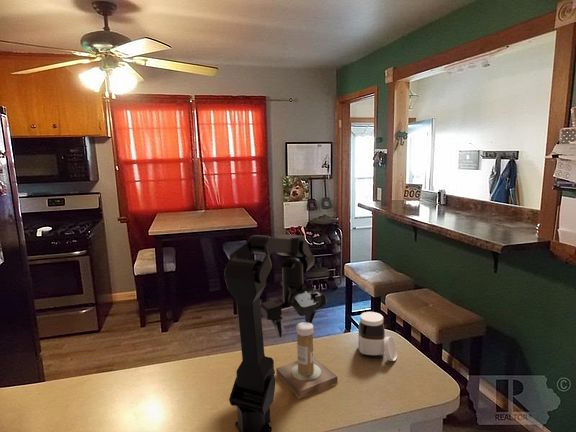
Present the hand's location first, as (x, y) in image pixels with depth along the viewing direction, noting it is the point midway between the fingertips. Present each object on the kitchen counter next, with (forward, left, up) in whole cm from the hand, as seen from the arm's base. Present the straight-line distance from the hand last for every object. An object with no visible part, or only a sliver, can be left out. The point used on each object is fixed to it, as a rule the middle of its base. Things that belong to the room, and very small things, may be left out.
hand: (294, 332), depth 105 cm
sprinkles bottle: (0, -6, -9) cm, 11 cm away
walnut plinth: (0, -6, -11) cm, 13 cm away
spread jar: (+25, -7, -11) cm, 28 cm away
